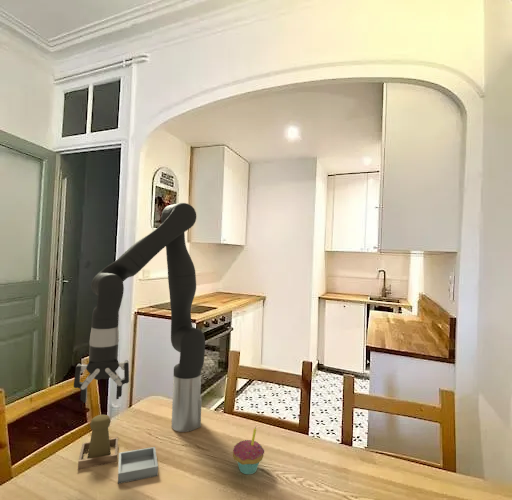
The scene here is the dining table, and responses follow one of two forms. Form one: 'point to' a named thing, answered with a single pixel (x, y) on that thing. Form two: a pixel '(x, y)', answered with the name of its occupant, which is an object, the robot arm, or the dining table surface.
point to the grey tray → (137, 465)
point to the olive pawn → (99, 437)
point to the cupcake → (248, 455)
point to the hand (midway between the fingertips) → (101, 399)
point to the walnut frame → (97, 460)
